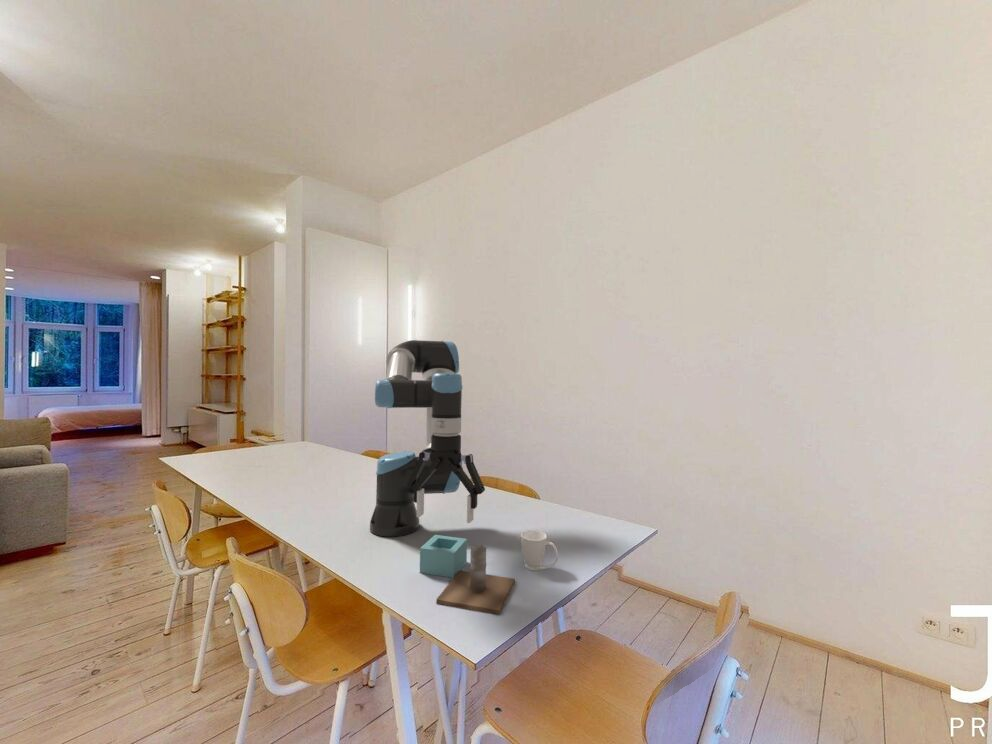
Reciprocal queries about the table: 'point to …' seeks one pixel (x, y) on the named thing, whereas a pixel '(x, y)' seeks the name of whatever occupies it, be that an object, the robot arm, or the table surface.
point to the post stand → (477, 587)
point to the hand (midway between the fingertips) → (444, 518)
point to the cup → (535, 549)
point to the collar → (443, 556)
